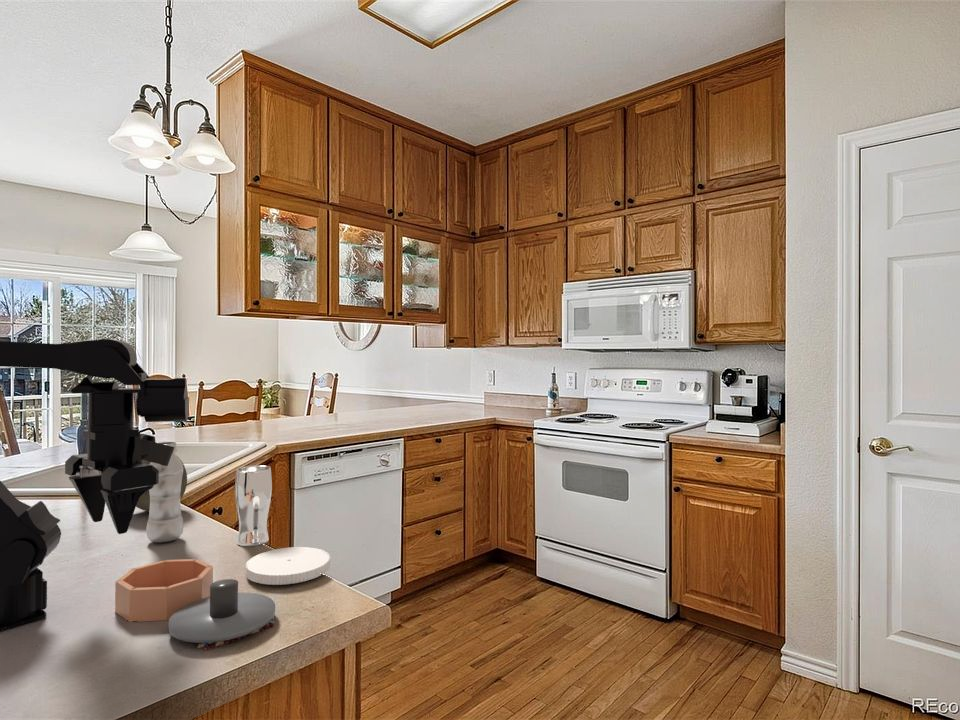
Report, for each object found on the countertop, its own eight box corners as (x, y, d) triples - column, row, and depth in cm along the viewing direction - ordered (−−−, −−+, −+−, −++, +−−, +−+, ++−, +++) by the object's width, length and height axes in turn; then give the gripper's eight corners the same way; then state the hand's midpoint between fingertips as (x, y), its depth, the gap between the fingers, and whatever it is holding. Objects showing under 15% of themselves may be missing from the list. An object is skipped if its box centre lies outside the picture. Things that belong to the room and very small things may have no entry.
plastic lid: (230, 575, 98) (230, 561, 98) (301, 555, 108) (301, 541, 108) (273, 598, 89) (273, 582, 89) (346, 573, 100) (346, 559, 100)
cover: (208, 653, 70) (208, 614, 70) (147, 625, 77) (148, 590, 77) (295, 611, 81) (296, 578, 81) (235, 590, 88) (236, 560, 88)
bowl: (140, 629, 77) (140, 596, 77) (105, 605, 85) (106, 575, 85) (224, 600, 87) (224, 571, 87) (186, 580, 94) (187, 554, 94)
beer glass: (259, 534, 120) (260, 463, 120) (277, 541, 115) (278, 468, 115) (227, 542, 114) (228, 468, 114) (245, 550, 110) (246, 473, 110)
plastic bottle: (188, 540, 115) (189, 443, 115) (151, 548, 110) (153, 446, 110) (177, 533, 119) (178, 439, 119) (141, 541, 114) (142, 442, 114)
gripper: (195, 423, 85) (194, 526, 85) (142, 414, 96) (140, 505, 96) (113, 430, 76) (111, 545, 76) (64, 420, 87) (63, 520, 87)
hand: (109, 527), depth 84 cm, fingers open, 9 cm apart
